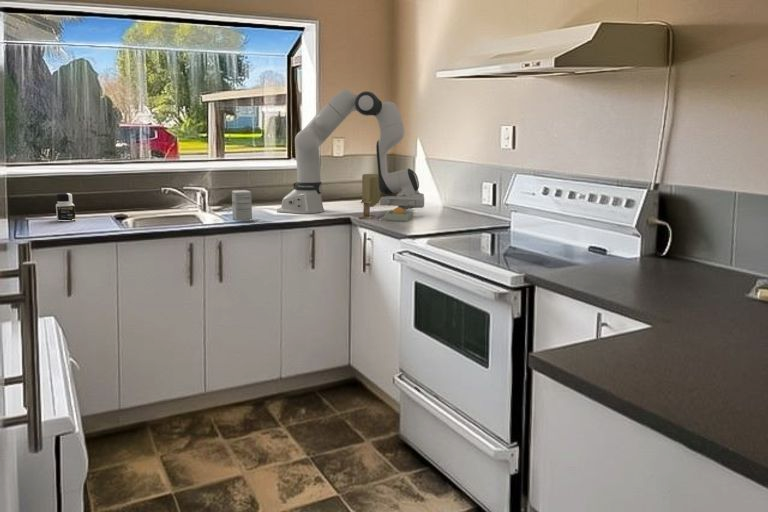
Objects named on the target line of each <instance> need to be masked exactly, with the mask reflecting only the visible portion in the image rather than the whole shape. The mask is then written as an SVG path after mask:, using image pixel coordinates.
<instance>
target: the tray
mask: <svg viewBox="0 0 768 512" xmlns="http://www.w3.org/2000/svg"><path fill="white" fill-rule="evenodd" d="M393 211H394V210H389V211H387V212H385V213H384V216H385V218H384V221H385V220H387V222H388V221H392V222H410V220H412V219H413V211H406V210H404V214H393Z"/></svg>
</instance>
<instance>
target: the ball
mask: <svg viewBox="0 0 768 512" xmlns="http://www.w3.org/2000/svg"><path fill="white" fill-rule="evenodd" d="M392 211H393V214H404V211H405V210H403V208H401V207H398V206H397V207H395V208H394V209H393V210H392Z"/></svg>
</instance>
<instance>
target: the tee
mask: <svg viewBox="0 0 768 512" xmlns="http://www.w3.org/2000/svg"><path fill="white" fill-rule="evenodd" d="M371 202H372V199H369V200H367V201H366V199H363V200H362V199H361V202H360V203H361V204H363V207H362V208H363V209H362V210H363V214H362V215H359V216H358V220H359V219H360V220H362V219H364V220H373V219H374V218H375V217H376V216H375V215H372V214H371V212H370V211H371V210H370V209H371V208H370V203H371ZM373 217H374V218H373Z"/></svg>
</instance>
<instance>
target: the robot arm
mask: <svg viewBox="0 0 768 512" xmlns="http://www.w3.org/2000/svg"><path fill="white" fill-rule="evenodd" d="M355 111H356V112H358V113H359V114H360V115H362V116H365V117H366V116H367V117H369V116H373V117H375V118H376V120H377V123H378V127H379V130H380V131H379V132H380V133H379V134H380V135H379V139H378V140H377V141H376V147H375V148H376V160H377V161H376V162H377V163H376V164H377V174H378V186H379V189H380V193H382V194H384V196H380V201H379V205H381V206H389V207H391V206H393V207H396V206H397V207H401V208H403V210H404V211H406V210H410V209H421V208H425V193H421V192H419V187H420V181H419V177H418V175H417V174H416V172H415V171H414V170H412V169H411V168H409V167H408V168H405V169H401V170H397V171H393V172H388V161H387V160H388V159H387V155H388V153H389V152H390V151H391V149H392V148H394V147H395V146H396V145H398V144H400V143H401V141H402V140H403V138H404V136H405V126H404V123H403V120H402V116H401V113H400V111H399V108H398V106H397V104H396V103H395V102H393V101H381V100H380V99H379V96H378V95H377V94H376V93H374V92H372V91H368V90H367V91H366V90H365V91H362V92H360V93H358V94H355V93H354V92H353V91H351V90H349V89H344V88H343V89H342V90H340V91H339V92H337V93H336V94H335V95H333V97H331V98H330V99H329V100H328V101H327V102H326V103H325V105H324V106H322V108H321V109H320V110H319V111H318V112H317V113H316V114H315V115H314V117H313V118H312V119H311V120H310V121H309V123H308V124H307V125H306V126H305V127H304V128H303V129H301V130H300V131H298V132H297V133H296V135H295V138H294V148H295V149H294V150H295V151H294V152H295V162H296V179H297V180H296V182H294V183H292V187H293V190H292V191H290V192H288V193H287V194H286V195H285V196H284V197H283V198H282V200H281V207H278V208H277V209H276V212H277V213H287V214H302V215H303V214H304V215H306V214H318V213H322V212H325V208H324V205H323V199H322V192H323V191H322V190H323V189H322V188H323V187H322V181H321V161H320V160H321V159H320V147H321V146H322V145H323V143H325V141H327V139H328V137H330V136H331V135H332V134H333V132H335V130H336V129H337V128H338V127H339V126H340V125H341V124H342V123H343V122H344V121H345V120H346V119H347V117H348V116H349V115H351V114H352V113H353V112H355ZM396 193H397V194H396ZM393 194H396V195H394V196H393Z"/></svg>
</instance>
